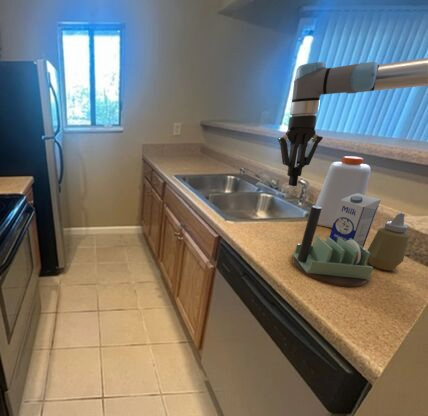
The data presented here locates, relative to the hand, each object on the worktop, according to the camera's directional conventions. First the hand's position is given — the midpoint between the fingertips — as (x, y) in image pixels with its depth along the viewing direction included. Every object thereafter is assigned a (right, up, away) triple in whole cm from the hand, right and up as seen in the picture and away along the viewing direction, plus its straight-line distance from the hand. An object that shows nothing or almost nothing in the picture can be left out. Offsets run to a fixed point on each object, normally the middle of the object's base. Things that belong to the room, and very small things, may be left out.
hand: (292, 185), depth 97 cm
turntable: (+2, -27, -12) cm, 30 cm away
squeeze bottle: (+20, -27, -11) cm, 35 cm away
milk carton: (+16, -23, -2) cm, 28 cm away
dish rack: (+2, -26, -12) cm, 29 cm away
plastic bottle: (+31, -15, +19) cm, 39 cm away
